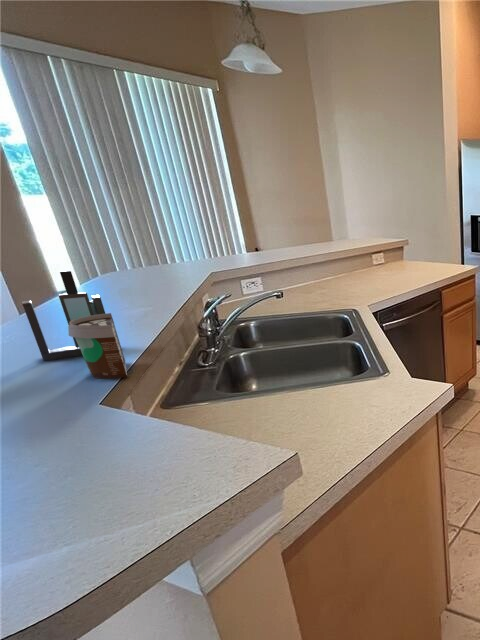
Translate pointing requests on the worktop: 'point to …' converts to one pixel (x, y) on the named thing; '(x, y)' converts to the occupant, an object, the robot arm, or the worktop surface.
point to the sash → (74, 300)
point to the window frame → (35, 326)
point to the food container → (99, 345)
